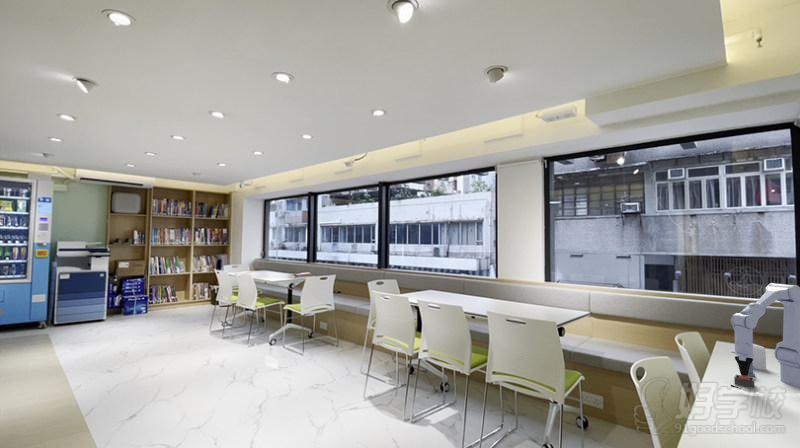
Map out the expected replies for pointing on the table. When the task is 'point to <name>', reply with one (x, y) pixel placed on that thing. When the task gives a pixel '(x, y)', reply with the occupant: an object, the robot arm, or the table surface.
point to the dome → (744, 377)
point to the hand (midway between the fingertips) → (744, 374)
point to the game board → (744, 381)
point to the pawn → (751, 371)
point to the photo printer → (759, 357)
